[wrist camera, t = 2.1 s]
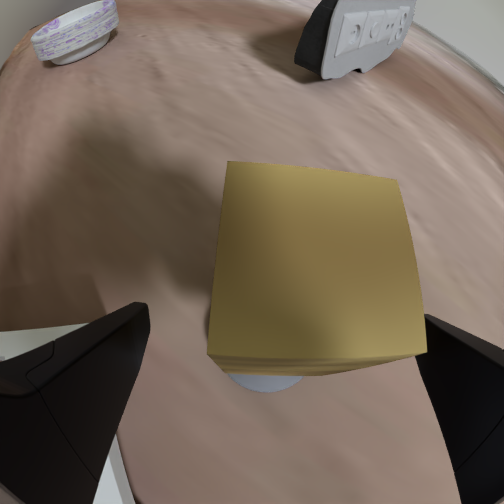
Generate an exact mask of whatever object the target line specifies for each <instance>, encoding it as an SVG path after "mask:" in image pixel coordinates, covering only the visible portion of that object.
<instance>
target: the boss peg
mask: <svg viewBox="0 0 504 504" xmlns="http://www.w3.org/2000/svg"><path fill="white" fill-rule="evenodd" d="M426 352H427V342H426V330H425V319H424V310H423V302H422V294H421V287H420V281H419V274H418V268H417V263H416V257H415V252H414V247H413V242H412V237H411V233H410V228H409V224H408V220H407V215H406V211H405V207H404V204H403V200H402V196H401V192H400V189H399V185H398V182H397V180H394V179H389V178H383V177H377V176H370V175H364V174H357V173H350V172H343V171H335V170H327V169H319V168H310V167H300V166H290V165H279V164H266V163H252V162H235V161H228V162H227V169H226V177H225V184H224V192H223V200H222V208H221V216H220V225H219V233H218V242H217V251H216V260H215V270H214V280H213V290H212V300H211V311H210V322H209V334H208V346H207V355H208V356H209V357H210V358H211V359H212V360H213V361H214V362H215V363H216V364H217V365H218V366H219V367H220V368H221V369H222V370H223V371H224V372H225V373H227V374H228V375H229V377H231V378H232V379H233V380H234V381H235V382H236V383H238V384H239V385H241V386H243V387H245V388H247V389H250V390H253V391H258V392H276V391H280V390H283V389H286V388H288V387H290V386H292V385H294V384H295V383H297V382H298V381H299V380H301V379H302V378H303V377H304V376H323V375H329V374H335V373H341V372H346V371H351V370H356V369H361V368H366V367H371V366H375V365H380V364H384V363H388V362H392V361H396V360H400V359H404V358H408V357H412V356H416V355H419V354H423V353H426Z"/></svg>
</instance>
